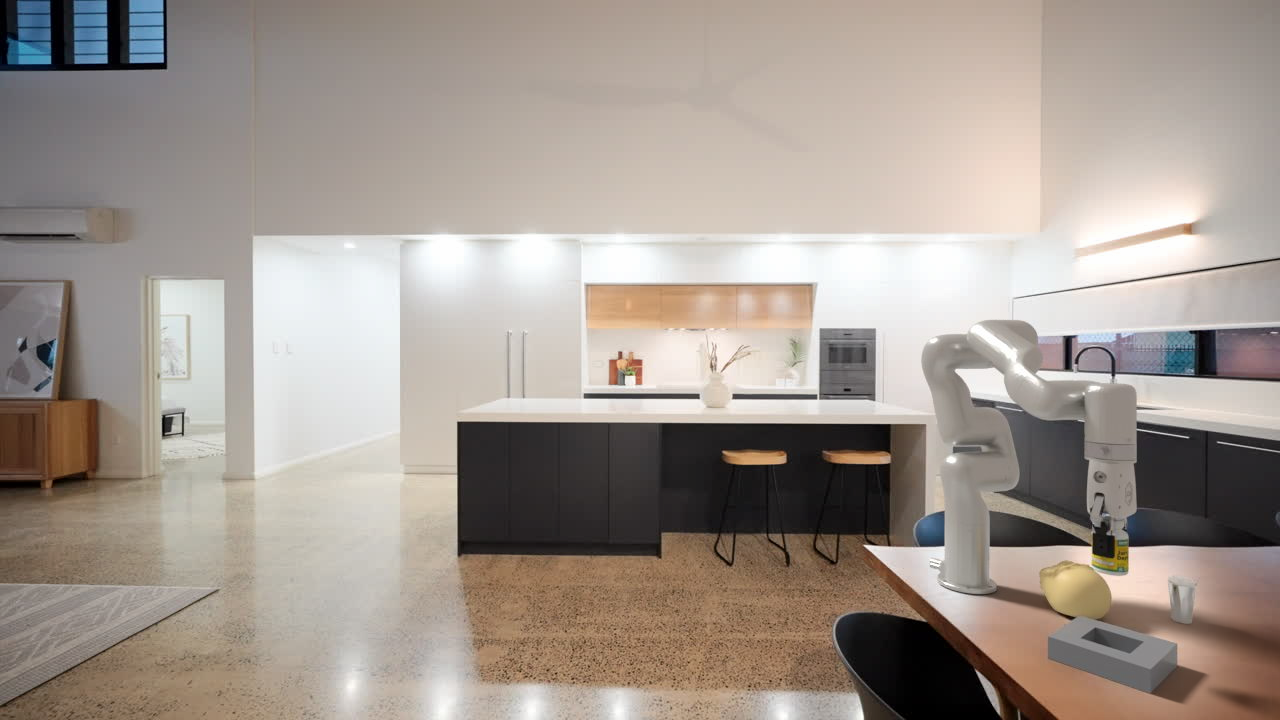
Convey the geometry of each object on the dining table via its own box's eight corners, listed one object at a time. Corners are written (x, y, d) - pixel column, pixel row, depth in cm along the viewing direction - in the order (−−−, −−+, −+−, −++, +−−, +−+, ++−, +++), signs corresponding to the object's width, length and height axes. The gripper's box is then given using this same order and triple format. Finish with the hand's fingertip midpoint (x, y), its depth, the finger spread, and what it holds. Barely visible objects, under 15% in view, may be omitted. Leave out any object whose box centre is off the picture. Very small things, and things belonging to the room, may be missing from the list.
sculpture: (1075, 600, 142) (1075, 552, 142) (1125, 623, 130) (1125, 571, 130) (1030, 604, 140) (1030, 555, 140) (1076, 627, 128) (1076, 574, 128)
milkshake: (1194, 628, 127) (1195, 579, 127) (1163, 618, 132) (1163, 571, 132) (1205, 624, 130) (1206, 575, 129) (1173, 614, 134) (1174, 567, 134)
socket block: (1047, 658, 116) (1048, 636, 115) (1079, 635, 125) (1079, 615, 124) (1150, 693, 104) (1150, 669, 103) (1177, 666, 113) (1177, 643, 112)
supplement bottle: (1099, 564, 118) (1099, 512, 118) (1133, 572, 113) (1134, 519, 113) (1086, 570, 115) (1086, 516, 115) (1121, 578, 110) (1121, 523, 110)
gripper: (1118, 459, 106) (1118, 568, 106) (1151, 450, 116) (1151, 549, 116) (1066, 454, 112) (1066, 557, 112) (1102, 445, 122) (1102, 539, 122)
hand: (1109, 552), depth 114 cm, fingers closed on supplement bottle, 5 cm apart
